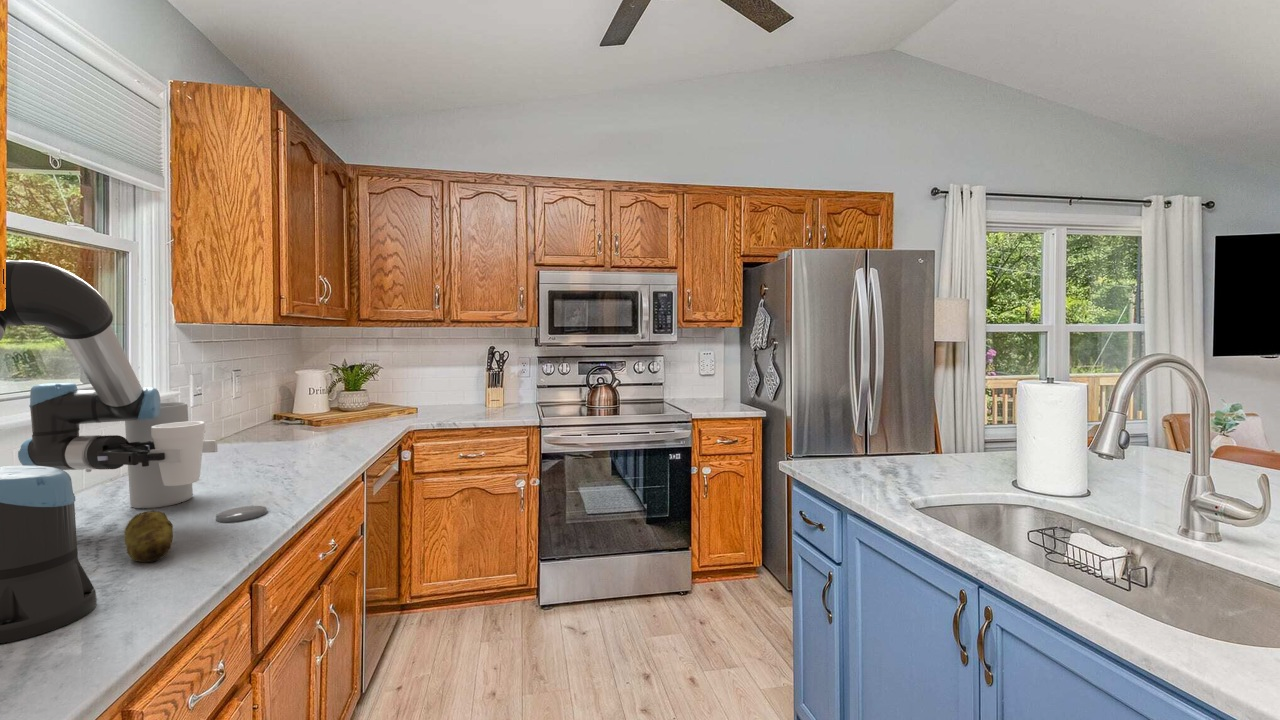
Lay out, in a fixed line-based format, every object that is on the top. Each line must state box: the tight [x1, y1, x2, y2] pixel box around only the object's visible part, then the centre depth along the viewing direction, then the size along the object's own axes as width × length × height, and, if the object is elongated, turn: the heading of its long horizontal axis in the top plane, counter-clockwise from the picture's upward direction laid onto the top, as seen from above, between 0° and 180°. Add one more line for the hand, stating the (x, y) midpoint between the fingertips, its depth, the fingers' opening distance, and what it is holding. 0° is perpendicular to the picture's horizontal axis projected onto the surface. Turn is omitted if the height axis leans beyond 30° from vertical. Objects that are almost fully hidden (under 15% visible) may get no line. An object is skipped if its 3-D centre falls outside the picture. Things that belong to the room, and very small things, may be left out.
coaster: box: [215, 505, 268, 523], centre depth 140 cm, size 10×10×1 cm
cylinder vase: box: [124, 401, 194, 509], centre depth 152 cm, size 12×12×25 cm
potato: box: [124, 510, 174, 563], centre depth 115 cm, size 8×13×8 cm, turn 28°
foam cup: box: [151, 420, 206, 486], centre depth 132 cm, size 10×9×13 cm
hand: (199, 450), depth 132 cm, fingers closed on foam cup, 9 cm apart
